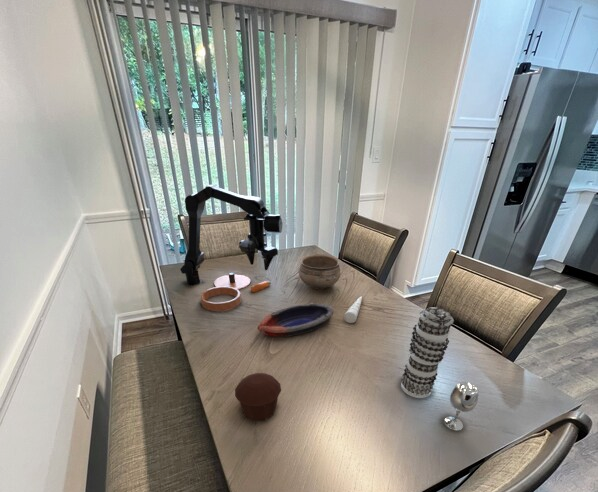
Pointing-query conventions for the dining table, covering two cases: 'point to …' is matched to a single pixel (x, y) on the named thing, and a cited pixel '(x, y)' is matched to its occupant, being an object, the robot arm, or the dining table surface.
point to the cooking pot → (319, 270)
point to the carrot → (260, 286)
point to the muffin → (258, 395)
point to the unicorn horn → (353, 311)
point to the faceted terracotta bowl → (222, 305)
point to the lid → (232, 281)
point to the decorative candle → (426, 351)
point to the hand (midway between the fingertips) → (259, 267)
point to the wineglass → (461, 403)
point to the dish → (295, 320)
